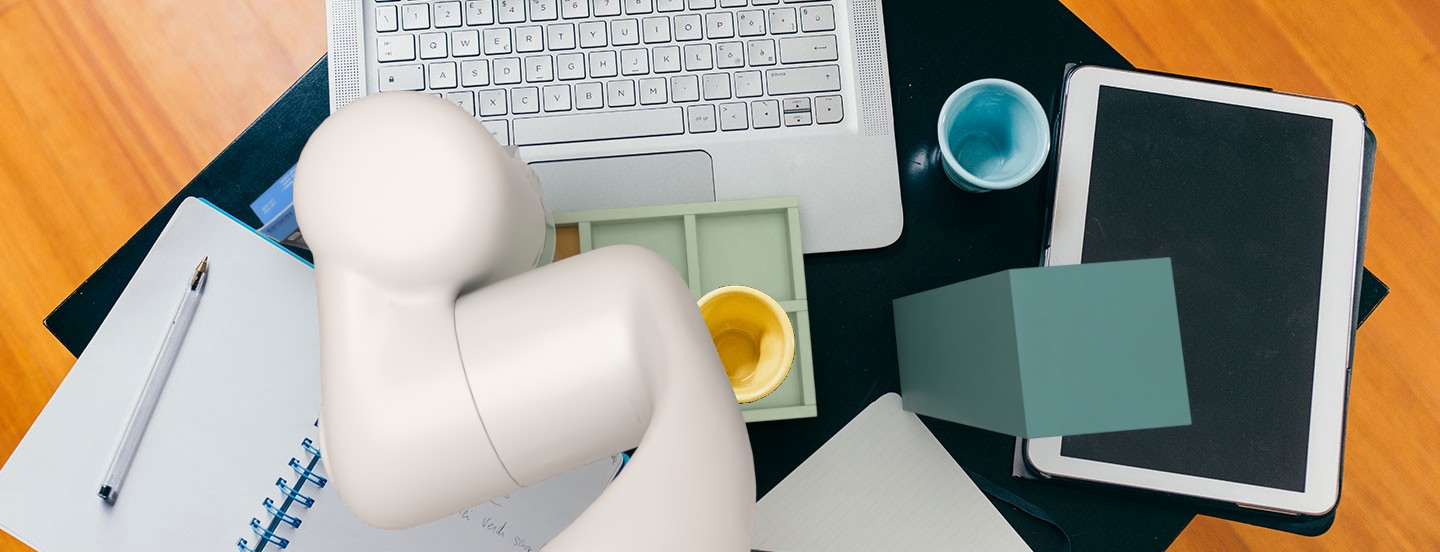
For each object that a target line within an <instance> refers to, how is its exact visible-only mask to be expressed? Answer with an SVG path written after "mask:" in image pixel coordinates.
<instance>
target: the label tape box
mask: <svg viewBox="0 0 1440 552" xmlns="http://www.w3.org/2000/svg"><path fill="white" fill-rule="evenodd" d="M297 164H298V161H297V162H296V163H295V164H293V165H292V167H290V168H289V169H288V170H287V171H286V172H285V173H284V174H282V176H280V177H279V178H278V179H277V180H276V181H275V182H274V183H273V184H272V185H271V186H270V187H268V188H267V189H266V190H265V191H264V192H263V193H262V194H260V196H258V197H257V198H256V199H255V200H254V201H253V202H252V203H250V204H249V207H250V208H251V209H252V211H253V212H254V214H255V215H256V216H257V217H258V218H259V220H260V222H261V223H262V224H263V226H262V227H260V228H258V229H255V233H257V234H259V235H263V236H265V237H267V238H269V239H272V240H274V241H276V242H277V243H280V244H284V245H290V246H294V247H297V248H301V249H305V250H309V251H311V250H310V248H309V247H308V245H307V244H306V242H305V240H304V239H303V236H302V234H301V231H300V228H299V226H298V223H297V220H296V215H295V209H294V204H293V182H294V177H295V171H296V166H297Z"/></svg>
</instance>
